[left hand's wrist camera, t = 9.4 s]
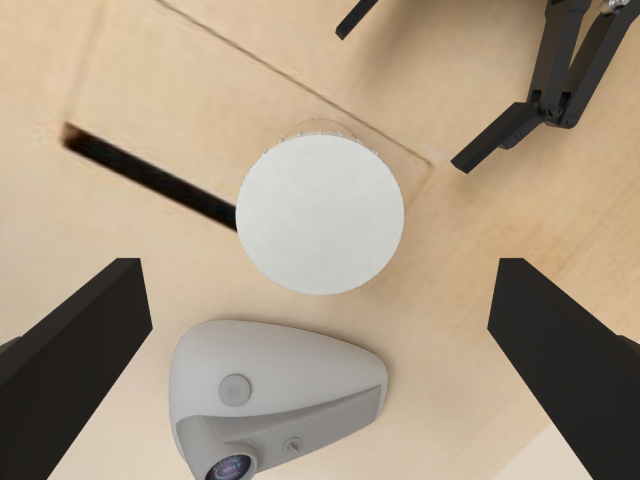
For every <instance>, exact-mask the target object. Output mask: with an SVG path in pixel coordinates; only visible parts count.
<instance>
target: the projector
mask: <svg viewBox="0 0 640 480" xmlns="http://www.w3.org/2000/svg"><path fill="white" fill-rule="evenodd" d="M387 387H388V371H387V368H386V365H385V364H384V362H383V361H382V359H381V358H380V357H378V356H377V355H375V354H373V353H371V352H369V351H367V350H365V349H363V348H360V347H358V346H355V345H353V344H350V343H347V342H344V341H342V340H338V339H335V338H332V337H329V336H326V335H322V334H318V333H315V332H311V331H306V330H302V329H297V328H292V327H287V326H281V325H275V324H268V323H260V322H251V321H239V320H214V321H207V322H203V323H200V324H197V325H195V326H194V327H192V328H191V329H189V330H188V331H187V332H186V333H185V334H184V335H183V337H182V338H181V340H180V342H179V343H178V345H177V348H176V350H175V352H174V355H173V359H172V363H171V370H170V380H169V412H170V422H171V428H172V433H173V437H174V441H175V444H176V446H177V449H178V451H179V453H180V455H181V456H182V458H183V459H184V460H185V461H186V462H187V463H188V466H189V468H190V470H191V472H192V474H193V476H194V477H195V479H196V480H251V479H252V478H253V476H254V474H256V473H259V472H262V471H265V470H267V469H270V468H272V467H275V466H278V465H280V464H283V463H286V462H288V461H291V460H293V459H296V458H299V457H301V456H304V455H306V454H309V453H311V452H314V451H316V450H318V449H321V448H323V447H325V446H327V445H330V444H332V443H334V442H336V441H338V440H340V439H343V438H345V437H347V436H349V435H351V434H353V433H355V432H357V431H358V430H360V429H362V428H364V427H366V426H367V425H369V424H371V423H372V422H373V421H375V420H376V419H377V418H378V416H379V415H380V413H381V411H382V408H383V405H384V402H385V398H386V393H387Z"/></svg>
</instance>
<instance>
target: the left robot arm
mask: <svg viewBox="0 0 640 480" xmlns="http://www.w3.org/2000/svg"><path fill="white" fill-rule="evenodd" d="M152 329H153V327H152V321H151V316H150V310H149V305H148V299H147V294H146V288H145V283H144V277H143V272H142V266H141V261H140V258H116V259H115V260H114V261H113V262H112V263H110V264H109V265H108V266H107V267H106V268H104V269H103V270H102V271H101V272H99V273H98V274H97V275H96V276H95V277H93V278H92V279H91V280H90V281H89V282H87V283H86V284H85V285H84V286H82V287H81V288H80V289H79V290H78V291H76V292H75V293H74V294H73V295H72V296H70V297H69V298H68V299H67V300H65V301H64V302H63V303H62V304H61V305H59V306H58V307H57V308H56V309H55V310H53V311H52V312H51V313H50V314H48V315H47V316H46V317H45V318H44V319H42V320H41V321H40V322H39V323H38V324H36V325H35V326H34V327H33V328H31V329H30V330H29V331H28V332H27V333H25V334H24V335H23V336H22V337H17V338H15V339H13V340H11V341H9V342H7V343H5V344H3V345H1V346H0V480H47V479H48V477H49V476H50V474H51V473H52V471H53V470H54V469H55V467H56V466H57V464H58V463H59V461H60V460H61V459H62V457H63V456H64V454H65V453H66V452H67V450H68V449H69V447H70V446H71V444H72V443H73V442H74V440H75V439H76V437H77V436H78V434H79V433H80V432H81V430H82V429H83V427H84V426H85V424H86V423H87V422H88V420H89V419H90V417H91V416H92V415H93V413H94V412H95V410H96V409H97V407H98V406H99V405H100V403H101V402H102V400H103V399H104V397H105V396H106V395H107V393H108V392H109V390H110V389H111V387H112V386H113V385H114V383H115V382H116V380H117V379H118V378H119V376H120V375H121V373H122V372H123V370H124V369H125V368H126V366H127V365H128V363H129V362H130V360H131V359H132V358H133V356H134V355H135V353H136V352H137V351H138V349H139V348H140V346H141V345H142V343H143V342H144V341H145V339H146V338H147V336H148V335H149V333H150V332H151V331H152ZM487 329H488V331H489V332H490V333H491V335H492V336H493V338H494V339H495V341H496V342H497V343H498V345H499V346H500V348H501V349H502V350H503V352H504V353H505V355H506V356H507V358H508V359H509V360H510V362H511V363H512V365H513V366H514V368H515V369H516V370H517V372H518V373H519V375H520V376H521V378H522V379H523V380H524V382H525V383H526V385H527V386H528V387H529V389H530V390H531V392H532V393H533V395H534V396H535V397H536V399H537V400H538V402H539V403H540V405H541V406H542V407H543V409H544V410H545V412H546V413H547V415H548V416H549V417H550V419H551V420H552V422H553V423H554V424H555V426H556V427H557V429H558V430H559V432H560V433H561V434H562V436H563V437H564V439H565V440H566V442H567V443H568V444H569V446H570V447H571V449H572V450H573V451H574V453H575V454H576V456H577V457H578V459H579V460H580V461H581V463H582V464H583V466H584V467H585V469H586V470H587V471H588V473H589V474H590V476H591V477H592V478H593V480H640V344H638V343H636V342H634V341H632V340H630V339H628V338H627V337H625V336H623V335H616V334H615V333H613V332H612V331H611V330H610V329H609V328H607V327H606V326H605V325H604V324H602V323H601V322H600V321H599V320H598V319H596V318H595V317H594V316H593V315H592V314H590V313H589V312H588V311H587V310H585V309H584V308H583V307H582V306H581V305H579V304H578V303H577V302H576V301H575V300H573V299H572V298H571V297H570V296H568V295H567V294H566V293H565V292H564V291H562V290H561V289H560V288H559V287H558V286H556V285H555V284H554V283H553V282H551V281H550V280H549V279H548V278H547V277H545V276H544V275H543V274H542V273H541V272H539V271H538V270H537V269H536V268H534V267H533V266H532V265H531V264H530V263H528V262H527V261H526V260H525V259H524V258H500V261H499V266H498V272H497V277H496V283H495V288H494V294H493V299H492V305H491V310H490V316H489V321H488V327H487Z"/></svg>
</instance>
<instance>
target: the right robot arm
mask: <svg viewBox="0 0 640 480" xmlns="http://www.w3.org/2000/svg"><path fill="white" fill-rule="evenodd" d="M377 1H378V0H360V1H359V3H358V4H357V5H356V6H355V7H354V8H353V9H352V11H351V12H350V13H349V14H348V15H347V16H346V17H345V18H344V20H343V21H342V22H341V23H340V24H339V25H338V26H337V28H336V32H335V33H336V34H337V35H338V36H339V37H340V39H341V40H343V39H344V38H345V37H346V36H347V35H348V34H349V33H350V32H351V30H352V29H353V28H354V27H355V26H356V25H357V24H358V23H359V21H360V20H361V19H362V18H363V17H364V16H365V15H366V14H367V13H368V11H369V10H370V9H371V8H372V7H373V6H374V5H375V4H376V2H377ZM591 2H592V0H548V3H547V7H546V11H545V17H546V25H545V29H544V33H543V37H542V41H541V45H540V49H539V53H538V57H537V61H536V65H535V69H534V73H533V77H532V81H531V85H530V89H529V93H528V97H527V101H526V103H520V102H514V103H513V104H512V105H511V106H510V107H509V108H508V109H507V110H506V111H505V112H503V113H502V114H501V115H500V116H499V117H498V118H497V119H496V120H495V121H494V122H492V123H491V124H490V125H489V126H488V127H487V128H486V129H485V130H484V131H483V132H482V133H480V134H479V135H478V136H477V137H476V138H475V139H474V140H473V141H472V142H471V143H470V144H468V145H467V146H466V147H465V148H464V149H463V150H462V151H461V152H460V153H459V154H457V155H456V156H455V157H454V158H453V159H452V160H451V161H450V162H451V163H452V164H453V165H454V166H455V167H456V168H458V169H459V170H461V171H463V172H465V173H466V174H468V173H469V172H470V171H471V170H472V169H473V168H474V167H476V166H477V165H478V164H479V163H480V162H481V161H482V160H483V159H485V158H486V157H487V156H488V155H489V154H490V153H491V152H492V151H494V150H495V149H496V148H497V147H499V148H502V149H505V150H507V149H510V148H512V147H514V146H515V145H516V144H517V143H519V141H521V140H522V139H523V138H524V137H525V136H526V135H528V134H529V133H530V132H531V131H532V130H533V129H534V128H536V127H537V126H538V125H539V124H540V123H542V122H544V123H546V125H548V126H552V127H558V128H565V129H570V128H573V127H574V126H575V125H576V124H577V123H578V121H579V119H580V117H581V115H582V113H583V111H584V110H585V108H586V106H587V104H588V102H589V100H590V98H591V97H592V95H593V93H594V91H595V89H596V87H597V85H598V84H599V82H600V80H601V78H602V76H603V74H604V72H605V71H606V69H607V67H608V65H609V63H610V61H611V59H612V58H613V56H614V54H615V52H616V50H617V48H618V46H619V45H620V43H621V41H622V39H623V37H624V35H625V33H626V32H627V30H628V28H629V26H630V24H631V23H632V22H633V21H634V20H635V19H636V18H637V17H638V15H639V14H640V0H603V1H602V3H601V4H600V5H599V7H598V10H599V11H600V12H601V13H600V14H599V16H598V17H597V18H596V19H595V21H594V22H593V24H592V26H591V27H590V29H589V31H588V33H587V35H586V37H585V39H584V41H583V43H582V45H581V47H580V49H579V51H578V53H577V55H576V57H575V59H574V61H573V63H572V64H571V66H570V68H569V65H570V62H571V58H572V54H573V51H574V47H575V44H576V40H577V36H578V33H579V29H580V25H581V22H582V18H583V15H584V14H585V12H586V11H587V10H588V9H589V7H590V5H591ZM568 69H569V70H568Z"/></svg>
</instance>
